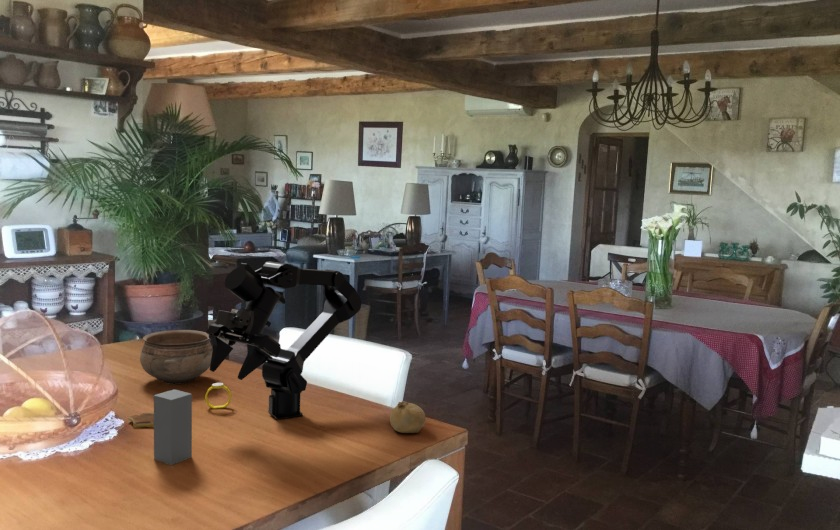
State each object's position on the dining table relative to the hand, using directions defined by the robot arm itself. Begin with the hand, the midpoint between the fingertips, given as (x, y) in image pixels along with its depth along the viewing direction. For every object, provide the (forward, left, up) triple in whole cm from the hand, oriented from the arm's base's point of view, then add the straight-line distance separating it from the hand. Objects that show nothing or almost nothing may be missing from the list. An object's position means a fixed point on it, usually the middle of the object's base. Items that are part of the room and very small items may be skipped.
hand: (225, 375), depth 152 cm
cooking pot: (+1, -45, -13) cm, 47 cm away
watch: (-3, -18, -13) cm, 23 cm away
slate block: (+13, +9, -13) cm, 20 cm away
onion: (-37, +15, -14) cm, 42 cm away
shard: (+12, -14, -14) cm, 23 cm away
